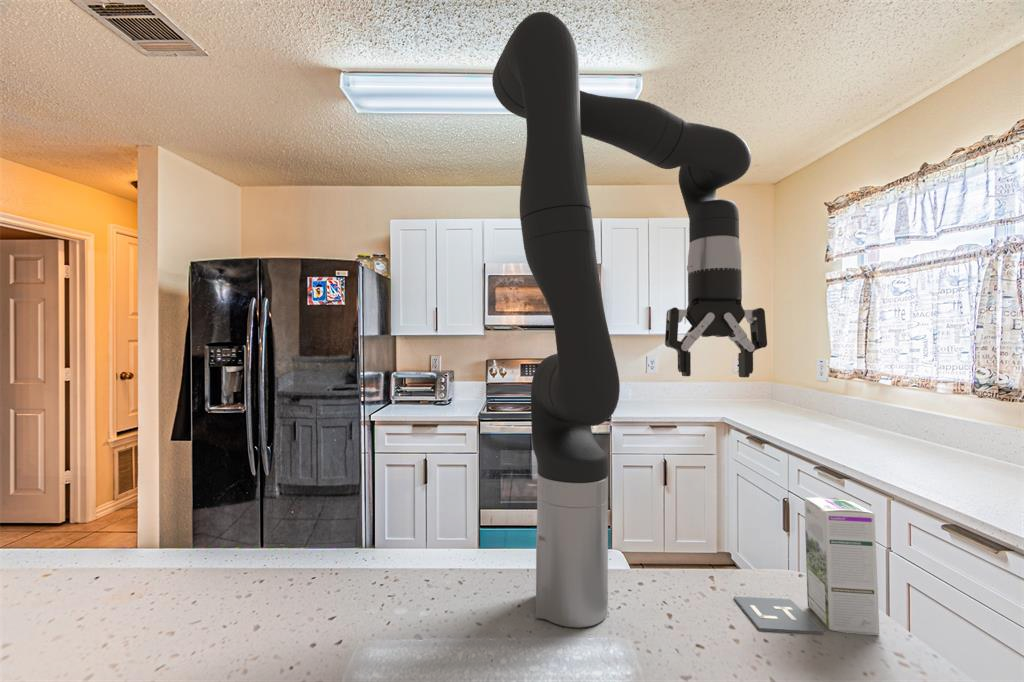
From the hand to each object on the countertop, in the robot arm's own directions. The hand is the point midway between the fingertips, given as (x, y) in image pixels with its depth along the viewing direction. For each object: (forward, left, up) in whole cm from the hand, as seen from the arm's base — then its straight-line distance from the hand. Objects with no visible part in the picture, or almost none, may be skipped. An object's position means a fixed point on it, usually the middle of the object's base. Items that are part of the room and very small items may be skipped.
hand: (715, 376), depth 68 cm
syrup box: (+12, -10, -30) cm, 34 cm away
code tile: (+4, -9, -30) cm, 32 cm away
